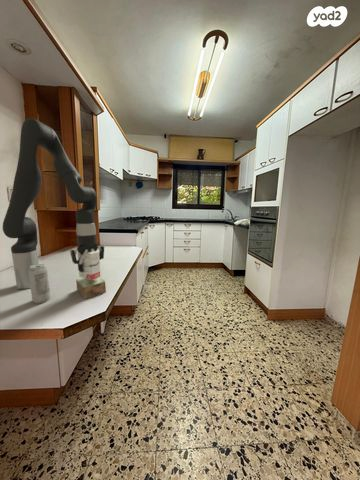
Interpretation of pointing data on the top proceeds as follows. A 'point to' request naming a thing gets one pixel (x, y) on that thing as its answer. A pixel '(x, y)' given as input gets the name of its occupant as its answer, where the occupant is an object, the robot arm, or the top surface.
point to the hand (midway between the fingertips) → (89, 270)
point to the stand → (90, 287)
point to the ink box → (90, 265)
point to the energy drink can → (39, 283)
